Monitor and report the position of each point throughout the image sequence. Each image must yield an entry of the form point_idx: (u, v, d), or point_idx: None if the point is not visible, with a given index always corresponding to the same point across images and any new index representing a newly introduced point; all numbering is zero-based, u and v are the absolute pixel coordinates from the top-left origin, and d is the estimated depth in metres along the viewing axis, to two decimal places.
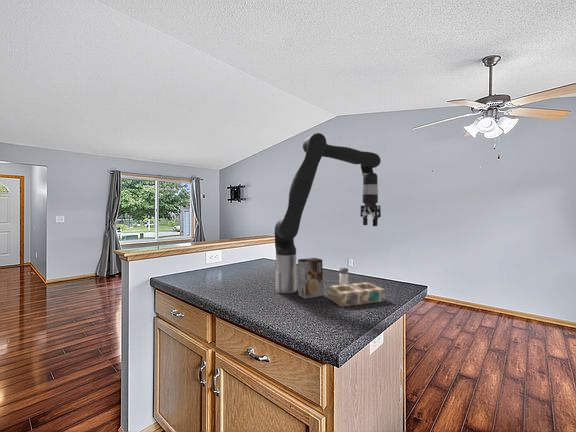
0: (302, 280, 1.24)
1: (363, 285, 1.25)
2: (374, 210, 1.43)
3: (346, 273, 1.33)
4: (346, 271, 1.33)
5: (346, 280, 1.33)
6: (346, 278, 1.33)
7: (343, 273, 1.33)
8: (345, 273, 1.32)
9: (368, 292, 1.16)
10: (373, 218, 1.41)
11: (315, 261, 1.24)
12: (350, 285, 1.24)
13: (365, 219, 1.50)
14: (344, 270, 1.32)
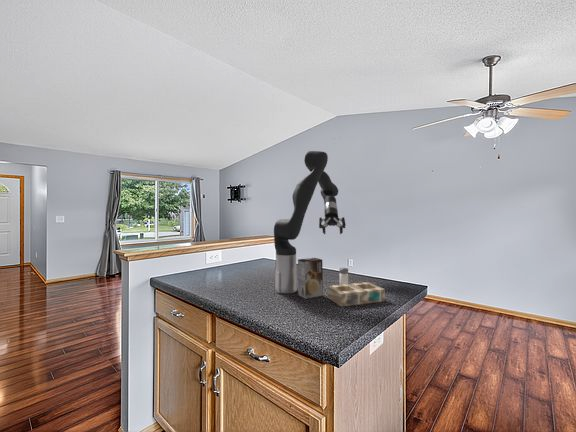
0: (302, 279, 1.24)
1: (363, 285, 1.25)
2: None
3: (346, 273, 1.33)
4: (346, 271, 1.33)
5: (346, 280, 1.33)
6: (346, 278, 1.33)
7: (343, 273, 1.33)
8: (345, 273, 1.32)
9: (368, 292, 1.16)
10: (341, 226, 1.55)
11: (315, 261, 1.24)
12: (350, 285, 1.24)
13: None
14: (344, 270, 1.32)
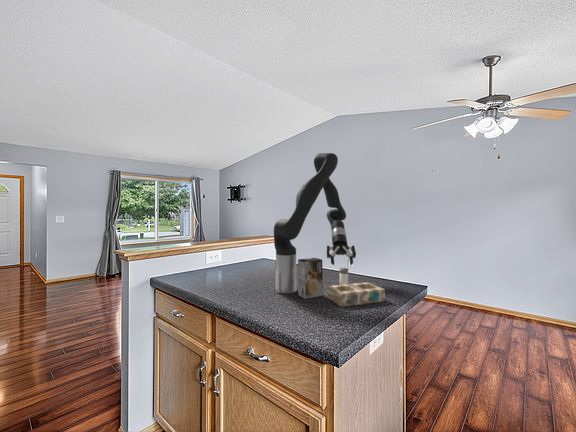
0: (302, 280, 1.24)
1: (363, 285, 1.25)
2: None
3: (346, 273, 1.33)
4: (346, 271, 1.33)
5: (346, 280, 1.33)
6: (346, 278, 1.33)
7: (343, 273, 1.33)
8: (345, 273, 1.32)
9: (368, 292, 1.16)
10: (351, 256, 1.41)
11: (315, 261, 1.24)
12: (350, 285, 1.24)
13: (333, 258, 1.41)
14: (344, 270, 1.32)
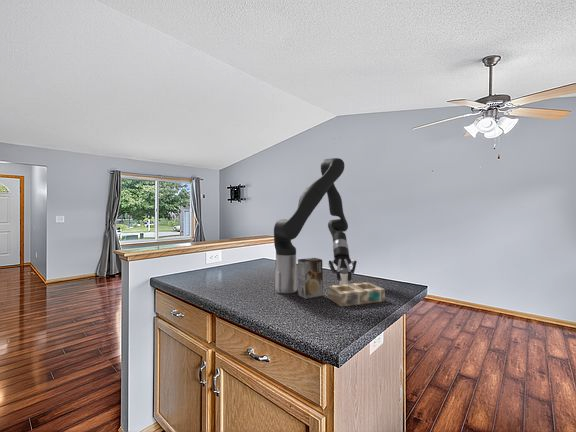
0: (302, 279, 1.24)
1: (363, 285, 1.25)
2: None
3: (346, 273, 1.33)
4: (346, 271, 1.33)
5: (346, 280, 1.33)
6: (346, 278, 1.33)
7: (343, 273, 1.32)
8: (345, 273, 1.32)
9: (368, 292, 1.16)
10: (349, 271, 1.34)
11: (315, 261, 1.24)
12: (350, 285, 1.24)
13: (339, 274, 1.35)
14: (344, 270, 1.32)
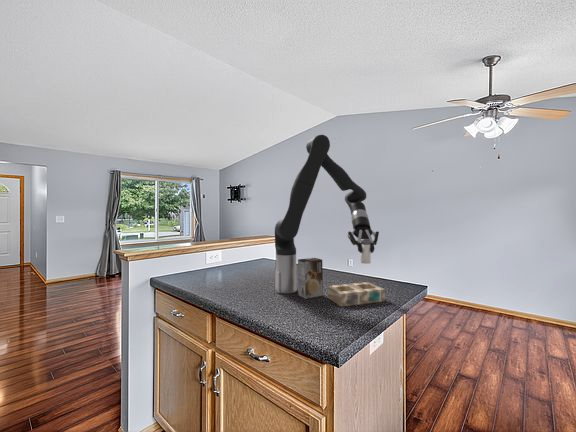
0: (302, 280, 1.24)
1: (363, 285, 1.25)
2: None
3: (368, 244, 1.21)
4: (368, 242, 1.21)
5: (368, 251, 1.21)
6: (368, 249, 1.21)
7: (365, 244, 1.20)
8: (367, 244, 1.20)
9: (368, 292, 1.16)
10: (372, 242, 1.22)
11: (315, 261, 1.24)
12: (350, 285, 1.24)
13: None
14: (366, 240, 1.20)
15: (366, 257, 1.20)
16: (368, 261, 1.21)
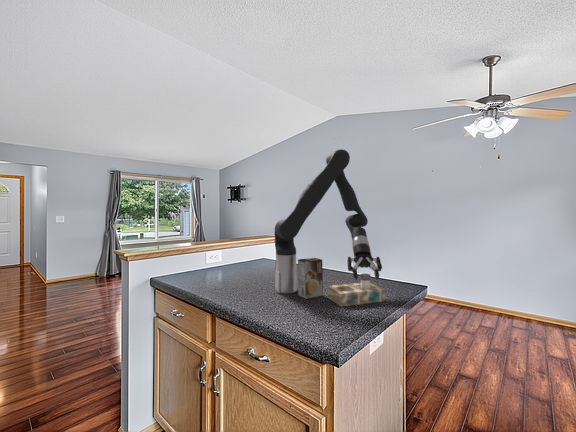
0: (302, 280, 1.24)
1: None
2: None
3: (368, 280, 1.20)
4: (368, 277, 1.20)
5: (368, 287, 1.20)
6: (368, 285, 1.20)
7: (365, 280, 1.20)
8: (367, 280, 1.20)
9: (368, 292, 1.16)
10: (376, 269, 1.22)
11: (315, 261, 1.24)
12: (350, 285, 1.24)
13: None
14: (366, 276, 1.20)
15: None
16: None
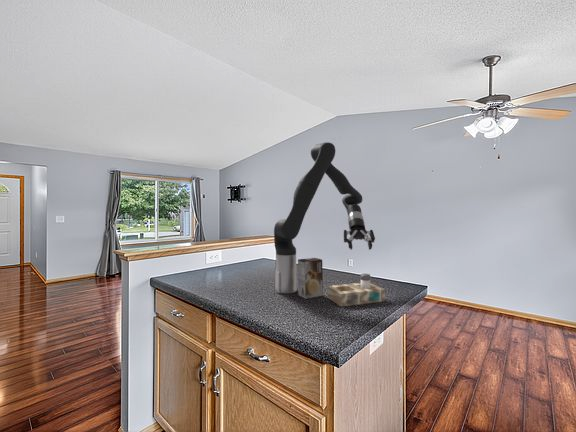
0: (302, 280, 1.24)
1: None
2: None
3: (368, 280, 1.20)
4: (368, 277, 1.20)
5: (368, 287, 1.20)
6: (368, 285, 1.20)
7: (365, 280, 1.20)
8: (367, 280, 1.20)
9: (368, 292, 1.16)
10: (370, 240, 1.34)
11: (315, 261, 1.24)
12: (350, 285, 1.24)
13: None
14: (366, 276, 1.20)
15: None
16: None
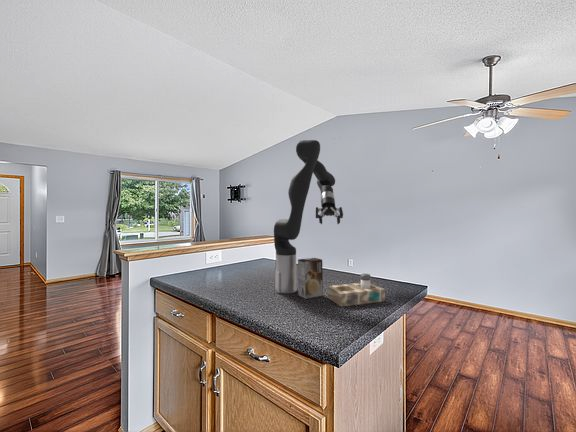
0: (302, 280, 1.24)
1: None
2: None
3: (368, 280, 1.20)
4: (368, 277, 1.20)
5: (368, 287, 1.20)
6: (368, 285, 1.20)
7: (365, 280, 1.20)
8: (367, 280, 1.20)
9: (368, 292, 1.16)
10: (338, 215, 1.48)
11: (315, 261, 1.24)
12: (350, 285, 1.24)
13: (321, 218, 1.49)
14: (366, 276, 1.20)
15: None
16: None
